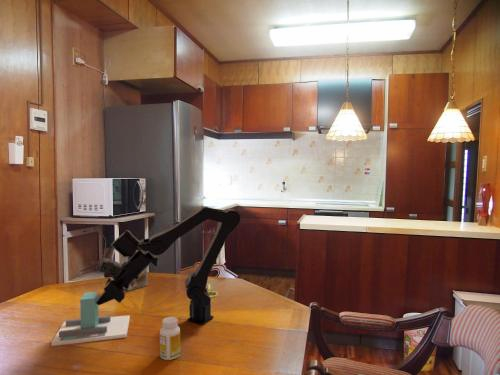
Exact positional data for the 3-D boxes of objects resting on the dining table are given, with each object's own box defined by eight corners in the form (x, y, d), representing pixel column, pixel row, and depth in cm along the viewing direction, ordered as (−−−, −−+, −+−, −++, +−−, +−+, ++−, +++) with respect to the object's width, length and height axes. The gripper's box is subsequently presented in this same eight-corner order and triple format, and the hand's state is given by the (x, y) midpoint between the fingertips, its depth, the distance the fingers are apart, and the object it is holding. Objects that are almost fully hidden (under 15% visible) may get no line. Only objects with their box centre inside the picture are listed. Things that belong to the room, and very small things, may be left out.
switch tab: (98, 322, 110) (98, 291, 109) (95, 331, 104) (94, 298, 104) (85, 324, 109) (84, 292, 108) (80, 332, 103) (80, 299, 103)
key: (209, 287, 148) (209, 283, 148) (219, 297, 137) (219, 292, 137) (193, 290, 145) (193, 285, 145) (202, 300, 134) (202, 295, 134)
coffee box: (129, 291, 143) (128, 252, 142) (121, 287, 147) (120, 250, 146) (148, 285, 150) (148, 249, 149) (140, 282, 154) (139, 246, 153)
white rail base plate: (129, 318, 116) (129, 310, 116) (126, 337, 103) (126, 329, 102) (64, 324, 111) (64, 317, 111) (51, 345, 97) (51, 337, 97)
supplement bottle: (181, 349, 96) (181, 315, 95) (178, 360, 90) (178, 324, 90) (162, 350, 95) (162, 315, 95) (157, 360, 90) (157, 324, 90)
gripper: (118, 243, 116) (83, 278, 114) (111, 256, 98) (69, 298, 96) (143, 265, 119) (109, 299, 116) (140, 282, 101) (100, 322, 98)
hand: (97, 304), depth 107 cm, fingers closed, pressing on switch tab
